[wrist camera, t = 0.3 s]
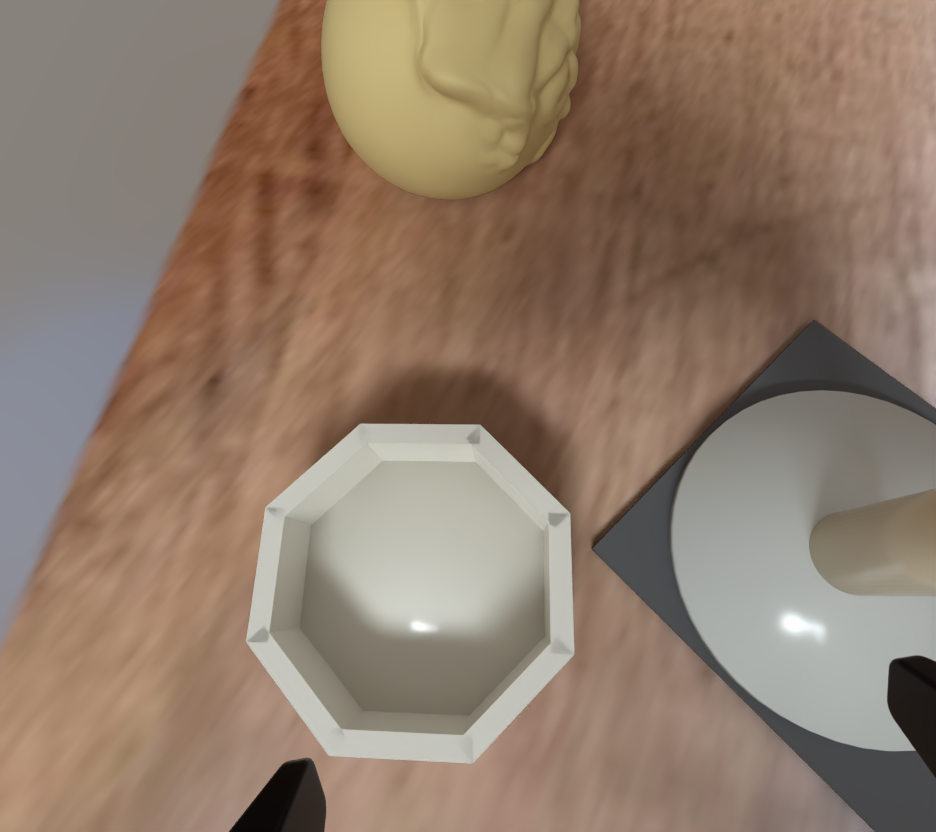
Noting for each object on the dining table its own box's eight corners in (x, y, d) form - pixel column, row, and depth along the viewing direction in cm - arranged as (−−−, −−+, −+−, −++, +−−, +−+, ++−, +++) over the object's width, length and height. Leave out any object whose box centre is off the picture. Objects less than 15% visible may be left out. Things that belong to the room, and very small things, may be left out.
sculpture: (542, 250, 28) (563, 50, 18) (326, 209, 29) (231, 5, 19) (586, 84, 31) (626, -166, 21) (389, 56, 33) (337, -188, 23)
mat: (1132, 562, 21) (1143, 561, 21) (910, 866, 19) (919, 872, 19) (809, 323, 25) (814, 319, 25) (591, 548, 23) (592, 548, 23)
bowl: (620, 584, 22) (640, 582, 19) (413, 804, 20) (394, 846, 17) (434, 398, 26) (423, 368, 22) (239, 573, 24) (194, 570, 20)
